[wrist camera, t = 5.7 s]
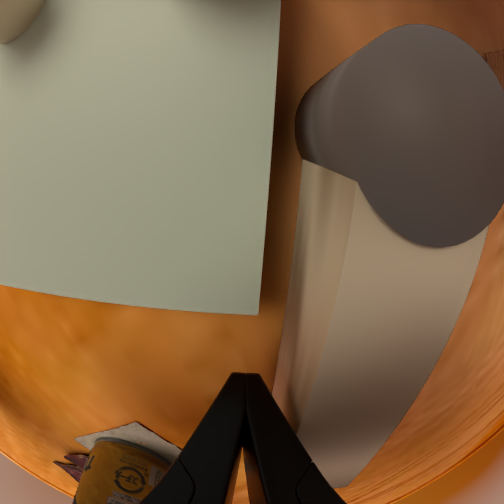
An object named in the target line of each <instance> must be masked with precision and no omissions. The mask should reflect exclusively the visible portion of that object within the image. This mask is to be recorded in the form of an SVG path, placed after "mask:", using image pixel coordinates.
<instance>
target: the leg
mask: <svg viewBox="0 0 504 504" xmlns="http://www.w3.org/2000/svg"><path fill="white" fill-rule="evenodd" d="M295 139H296V143H297V147H298V150H299V152H300V155H301V157H302V158H303V160H302V172H301V182H300V193H299V203H298V212H297V222H296V231H295V239H294V248H293V256H292V264H291V272H290V280H289V287H288V295H287V302H286V309H285V316H284V323H283V330H282V336H281V343H280V349H279V355H278V362H277V368H276V374H275V380H274V385H273V391H272V396H273V398H274V399H275V401H276V403H277V404H278V406H279V408H280V409H281V411H282V413H283V414H284V416H285V418H286V419H287V421H288V422H289V424H290V426H291V427H292V429H293V430H294V432H295V434H296V435H297V437H298V438H299V440H300V442H301V443H302V445H303V446H304V448H305V449H306V451H307V452H308V454H309V456H310V457H311V459H312V462H314V463H315V464H316V466H317V468H318V469H319V471H320V472H321V473H322V475H323V476H324V478H325V479H326V480H327V482H328V483H329V484H330V486H331V487H332V488H333V489H334V488H341V487H346V486H348V485H349V484H350V483H351V482H352V481H353V479H354V478H355V477H356V476H357V475H358V474H359V473H360V472H361V471H362V470H363V468H364V467H365V466H366V465H367V464H368V463H369V462H370V460H371V459H372V458H373V457H374V456H375V454H376V453H377V452H378V451H379V449H380V448H381V447H382V446H383V444H384V443H385V442H386V441H387V439H388V438H389V437H390V435H391V434H392V433H393V431H394V430H395V429H396V427H397V426H398V424H399V423H400V422H401V420H402V419H403V417H404V416H405V414H406V413H407V411H408V410H409V408H410V407H411V405H412V404H413V402H414V401H415V399H416V398H417V396H418V394H419V393H420V391H421V389H422V388H423V386H424V384H425V383H426V381H427V379H428V378H429V376H430V374H431V372H432V371H433V369H434V367H435V365H436V363H437V361H438V359H439V358H440V356H441V354H442V352H443V350H444V348H445V346H446V344H447V342H448V340H449V337H450V335H451V333H452V331H453V329H454V327H455V324H456V322H457V320H458V317H459V315H460V313H461V310H462V308H463V305H464V303H465V300H466V298H467V295H468V293H469V290H470V287H471V284H472V281H473V279H474V276H475V273H476V270H477V266H478V263H479V260H480V257H481V253H482V250H483V246H484V243H485V239H486V235H487V231H488V227H489V224H490V223H491V222H492V220H493V219H494V218H495V217H496V215H497V214H498V212H499V210H500V209H501V207H502V205H503V203H504V90H503V88H502V86H501V84H500V82H499V81H498V79H497V77H496V75H495V74H494V72H493V71H492V69H491V68H490V66H489V65H488V64H487V63H486V61H485V60H484V59H483V58H482V57H481V55H480V54H479V53H478V52H477V51H475V50H474V49H473V48H472V47H471V46H470V45H469V44H467V43H466V42H465V41H464V40H462V39H461V38H459V37H457V36H456V35H454V34H452V33H450V32H448V31H446V30H444V29H441V28H438V27H434V26H431V25H423V24H408V25H403V26H399V27H396V28H393V29H391V30H389V31H387V32H385V33H384V34H382V35H381V36H379V37H378V38H376V39H375V40H373V41H372V42H370V43H369V44H367V45H366V46H364V47H363V48H362V49H360V50H359V51H357V52H356V53H355V54H353V55H352V56H350V57H349V58H348V59H346V60H345V61H344V62H342V63H341V64H339V65H338V66H337V67H335V68H334V69H333V70H331V71H330V72H329V73H328V74H326V75H325V76H324V77H322V78H321V79H320V80H319V81H317V82H316V83H315V84H314V85H312V86H311V87H310V88H309V89H308V91H307V92H306V93H305V94H304V96H303V98H302V99H301V101H300V103H299V106H298V108H297V112H296V116H295Z"/></svg>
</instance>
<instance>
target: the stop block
mask: <svg viewBox="0 0 504 504" xmlns="http://www.w3.org/2000/svg"><path fill="white" fill-rule="evenodd" d="M486 59H487V64H488V65H489V66H490V68H491V69H492V71H493V72H494V74H495V75H496V77H497V79H498V81H499V82H500V84H501V86H502V88H503V90H504V50H501V51H495V52H490V53H486Z"/></svg>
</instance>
